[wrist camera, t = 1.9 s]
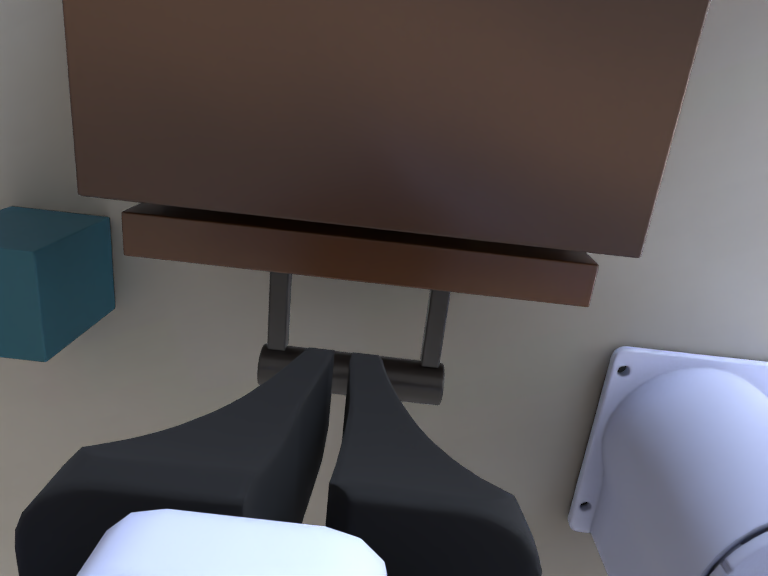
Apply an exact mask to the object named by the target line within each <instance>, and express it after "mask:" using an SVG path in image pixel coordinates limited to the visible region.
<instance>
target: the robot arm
mask: <svg viewBox="0 0 768 576" xmlns="http://www.w3.org/2000/svg"><path fill="white" fill-rule="evenodd" d="M334 354H335V350H327V349H318V348H308V349H306V350H305V351H304V352H303V353H301V354H300V355H299V356H298V357H296V358H295V359H294V360H293V361H292V362H291V363H289V364H288V365H287V366H286V367H284V368H283V369H282V370H281V371H279V372H278V373H277V374H275V375H274V376H273V377H272V378H270V379H269V380H268V381H266V382H265V383H263V384H262V385H260V386H259V387H257V388H256V389H254V390H253V391H251V392H250V393H248V394H247V395H245V396H243V397H242V398H240V399H238V400H236V401H234V402H233V403H231V404H229V405H227V406H225V407H223V408H220V409H218V410H216V411H214V412H212V413H210V414H207V415H205V416H202V417H199V418H197V419H194V420H192V421H189V422H187V423H184V424H181V425H179V426H176V427H172V428H169V429H166V430H163V431H159V432H156V433H152V434H148V435H144V436H140V437H136V438H131V439H127V440H121V441H116V442H110V443H104V444H99V445H93V446H86V447H82V448H81V449H79V450H78V451H77V452H76V453H75V454H74V455H73V456H72V457H71V458H70V459H69V460H68V461H67V462H66V463H65V464H64V465H63V466H62V468H61V469H60V470H59V471H58V472H57V473H56V475H55V476H54V477H53V478H52V479H51V480H50V481H49V483H48V484H47V485H46V486H45V487H44V488H43V489H42V491H41V492H40V493H39V494H38V495H37V496H36V497H35V499H34V500H33V501H32V502H31V503H30V504H29V505H28V507H27V508H26V509H25V510H24V511H23V512H22V514H21V517H20V519H19V522H18V524H17V527H16V529H15V552H16V559H17V565H18V572H19V576H541V575H542V569H541V565H540V560H539V556H538V552H537V548H536V545H535V542H534V539H533V536H532V533H531V531H530V529H529V526H528V524H527V522H526V520H525V517H524V515H523V513H522V511H521V509H520V506H519V504H518V502H517V500H516V498H515V496H514V495H512V494H510V493H508V492H506V491H504V490H502V489H501V488H499V487H497V486H495V485H493V484H491V483H489V482H487V481H485V480H483V479H482V478H480V477H478V476H477V475H475V474H474V473H472V472H471V471H469V470H468V469H466V468H465V467H463V466H462V465H460V464H459V463H458V462H456V461H455V460H454V459H452V458H451V457H450V456H448V455H447V454H446V453H445V452H444V451H443V450H441V449H440V448H439V447H438V446H437V445H436V444H435V443H434V442H433V441H431V440H430V439H429V438H428V437H427V436H426V434H425V433H424V432H423V431H422V430H421V429H420V428H419V427H418V425H417V424H416V423H415V421H414V420H413V419H412V417H411V416H410V414H409V413H408V412H407V410H406V409H405V407H404V406H403V404H402V402H401V401H400V399H399V397H398V395H397V394H396V392H395V390H394V388H393V386H392V384H391V382H390V380H389V378H388V376H387V373H386V371H385V368H384V365H383V360H382V359H381V358H380V356H379V355H371V354H362V353H352V356H351V359H350V362H349V372H348V383H347V393H346V404H345V415H344V425H343V436H342V444H341V448H340V452H339V455H338V459H337V463H336V466H335V469H334V471H333V474H332V477H331V480H330V482H329V492H328V503H327V515H326V526H325V527H324V526H316V525H307V524H302V521H303V518H304V515H305V512H306V509H307V506H308V503H309V499H310V496H311V493H312V490H313V487H314V484H315V481H316V478H317V475H318V472H319V468H320V465H321V462H322V458H323V453H324V447H325V442H326V437H327V431H328V426H329V414H330V402H331V390H332V378H333V366H334ZM621 366H626V369H625V371H623V372H620V373H618V372H617V370H618V368H619V367H621ZM583 502H588V503H587V504H586V505H581V504H582V503H583ZM568 523H569V525H570V527H571V529H573V530H574V531H577V532H585V533H591V535H592V537H593V540H594V542H595V544H596V547H597V549H598V552H599V554H600V557H601V559H602V562H603V564H604V567H605V569H606V572H607V574H608V576H768V362H763V361H754V360H745V359H736V358H727V357H718V356H709V355H700V354H691V353H683V352H674V351H665V350H656V349H647V348H638V347H629V346H622V347H619V348H617V349H616V350H615V351H614V352H613V354H612V356H611V359H610V363H609V367H608V371H607V374H606V378H605V382H604V385H603V389H602V393H601V397H600V400H599V404H598V408H597V411H596V415H595V419H594V422H593V426H592V430H591V434H590V437H589V441H588V445H587V448H586V452H585V456H584V460H583V463H582V467H581V471H580V474H579V478H578V482H577V486H576V489H575V493H574V497H573V500H572V504H571V508H570V511H569V515H568Z"/></svg>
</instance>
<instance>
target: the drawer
mask: <svg viewBox="0 0 768 576" xmlns="http://www.w3.org/2000/svg"><path fill="white" fill-rule="evenodd" d="M122 232H123V250H124V255H126V256H135V257H144V258H153V259H162V260H171V261H180V262H189V263H198V264H207V265H216V266H225V267H233V268H242V269H251V270H260V271H269V272H270V288H269V315H268V341H267V343H266V344H264V346H263V347H262V350H261V353H260V357H259V362H258V371H257V379H258V384H259V385H262V384H263V383H265V382H266V381H268V380H269V379H270V378H272V377H273V376H274V375H275V374H277V373H278V372H279V371H281V370H282V369H283V368H284V367H286V366H287V365H288V364H289V363H291V362H292V361H293V360H294V359H295V358H296V357H298V356H299V355H300V354H301V353H303V352H304V351H305V350H306V349H308V348H304V347H295V346H287V345H288V341H289V322H290V303H291V283H292V274H296V275H305V276H314V277H323V278H332V279H341V280H350V281H359V282H368V283H376V284H385V285H394V286H403V287H412V288H421V289H430V293H429V300H428V307H427V314H426V322H425V329H424V336H423V343H422V350H421V357H420V360H421V361H420V360H411V359H402V358H393V357H384V356H380V358H381V359H382V360H383V365H384V368H385V371H386V373H387V376H388V378H389V380H390V382H391V384H392V386H393V388H394V390H395V392H396V394H397V395H398V397H399V399H400V401H402V402H411V403H420V404H429V405H440V403H441V400H442V395H443V388H444V364H443V363H440V357H441V351H442V344H443V338H444V331H445V325H446V318H447V312H448V305H449V299H450V292H457V293H466V294H475V295H484V296H493V297H502V298H511V299H520V300H528V301H537V302H546V303H555V304H564V305H573V306H582V307H589V305H590V301H591V297H592V293H593V288H594V284H595V280H596V276H597V272H598V268H599V265H598V264H597V263H596V262H595V261H594V260H593V259H592V258H591V257H590V256H589V255H588V254H587V253H586V252H579V251H570V250H561V249H552V248H543V247H534V246H525V245H516V244H507V243H498V242H489V241H480V240H471V239H462V238H453V237H444V236H435V235H426V234H417V233H409V232H400V231H391V230H382V229H373V228H364V227H355V226H346V225H337V224H328V223H319V222H310V221H301V220H292V219H283V218H274V217H265V216H256V215H247V214H238V213H230V212H221V211H212V210H203V209H194V208H185V207H176V206H167V205H158V204H149V203H140V204H138V205H136V206H133V207H131V208H129V209H127V210H125V211H123V212H122ZM351 356H352V353H348V352H339V351H335V354H334V366H333V378H332V390H331V394H340V395H346V393H347V383H348V372H349V362H350V359H351Z"/></svg>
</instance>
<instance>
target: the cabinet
mask: <svg viewBox="0 0 768 576" xmlns="http://www.w3.org/2000/svg"><path fill="white" fill-rule="evenodd" d="M710 1H711V0H62V3H63V15H64V27H65V40H66V52H67V64H68V77H69V89H70V102H71V114H72V126H73V139H74V151H75V163H76V176H77V188H78V194H79V195H81V196H86V197H95V198H104V199H113V200H122V201H131V202H140V203H149V204H158V205H167V206H176V207H185V208H194V209H203V210H212V211H221V212H230V213H238V214H247V215H256V216H265V217H274V218H283V219H292V220H301V221H310V222H319V223H328V224H337V225H346V226H355V227H364V228H373V229H382V230H391V231H400V232H409V233H417V234H426V235H435V236H444V237H453V238H462V239H471V240H480V241H489V242H498V243H507V244H516V245H525V246H534V247H543V248H552V249H561V250H570V251H579V252H588V253H596V254H605V255H614V256H623V257H632V258H640V257H641V255H642V252H643V248H644V244H645V241H646V237H647V233H648V230H649V226H650V222H651V218H652V215H653V211H654V207H655V204H656V200H657V196H658V193H659V189H660V185H661V182H662V178H663V174H664V171H665V167H666V163H667V160H668V156H669V152H670V148H671V145H672V141H673V137H674V134H675V130H676V126H677V123H678V119H679V115H680V112H681V108H682V104H683V101H684V97H685V93H686V90H687V86H688V82H689V79H690V75H691V71H692V67H693V64H694V60H695V56H696V53H697V49H698V45H699V42H700V38H701V34H702V31H703V27H704V23H705V20H706V16H707V12H708V9H709V5H710Z"/></svg>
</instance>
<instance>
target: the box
mask: <svg viewBox="0 0 768 576" xmlns="http://www.w3.org/2000/svg"><path fill="white" fill-rule="evenodd" d="M114 309H115V296H114V280H113V264H112V249H111V233H110V218H109V217H104V216H95V215H86V214H77V213H68V212H59V211H50V210H41V209H32V208H23V207H14V206H11V207H8V208H5V209H2V210H0V357H4V358H13V359H22V360H31V361H39V362H47V361H48V360H49V359H51V358H52V357H53V356H55V355H56V354H57V353H58V352H60V351H61V350H62V349H64V348H65V347H66V346H67V345H69V344H70V343H71V342H72V341H74V340H75V339H76V338H78V337H79V336H80V335H81V334H83V333H84V332H85V331H87V330H88V329H89V328H90V327H92V326H93V325H94V324H96V323H97V322H98V321H99V320H101V319H102V318H103V317H105V316H106V315H107V314H108V313H110V312H111V311H112V310H114Z"/></svg>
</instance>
